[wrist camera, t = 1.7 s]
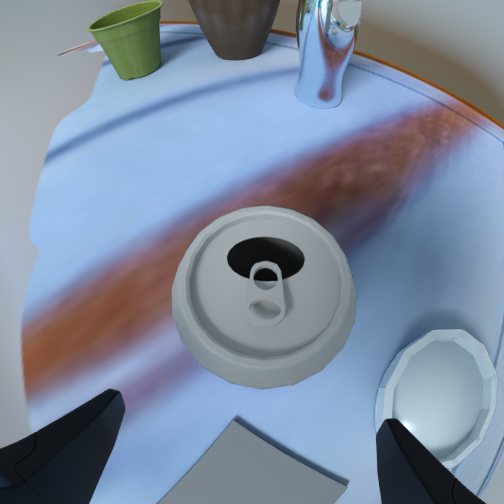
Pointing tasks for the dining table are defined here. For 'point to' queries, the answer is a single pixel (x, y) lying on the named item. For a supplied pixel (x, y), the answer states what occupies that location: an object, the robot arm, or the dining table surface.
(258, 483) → the mat
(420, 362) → the dish
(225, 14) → the plant pot
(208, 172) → the dining table surface
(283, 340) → the can
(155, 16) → the plant pot
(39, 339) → the dining table surface
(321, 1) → the beer glass
